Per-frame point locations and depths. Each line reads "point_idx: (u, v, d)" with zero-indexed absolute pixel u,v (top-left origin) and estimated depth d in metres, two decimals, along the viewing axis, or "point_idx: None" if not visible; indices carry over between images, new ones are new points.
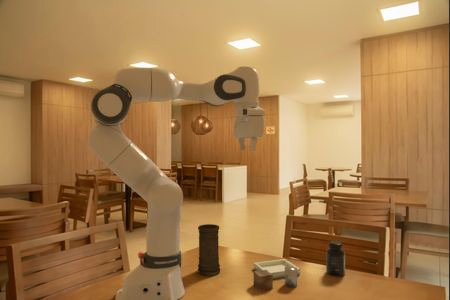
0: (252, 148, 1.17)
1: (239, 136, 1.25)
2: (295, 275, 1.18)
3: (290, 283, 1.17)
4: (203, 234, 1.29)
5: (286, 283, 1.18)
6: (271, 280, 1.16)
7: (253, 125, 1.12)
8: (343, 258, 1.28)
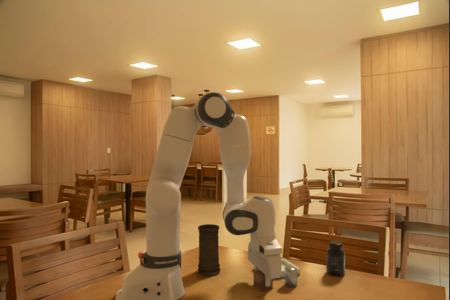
0: (267, 284, 1.14)
1: (254, 264, 1.21)
2: (295, 275, 1.18)
3: (290, 283, 1.17)
4: (203, 234, 1.29)
5: (286, 283, 1.18)
6: (271, 280, 1.16)
7: (270, 267, 1.08)
8: (343, 258, 1.28)
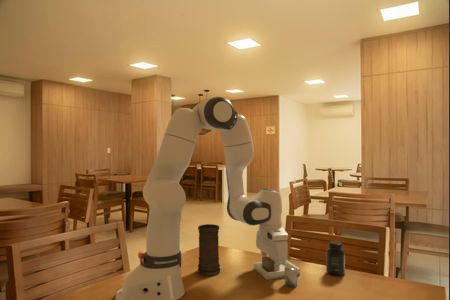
0: (276, 268, 1.25)
1: (262, 250, 1.33)
2: (295, 275, 1.18)
3: (290, 283, 1.17)
4: (203, 234, 1.29)
5: (286, 283, 1.18)
6: None
7: (278, 252, 1.20)
8: (343, 258, 1.28)
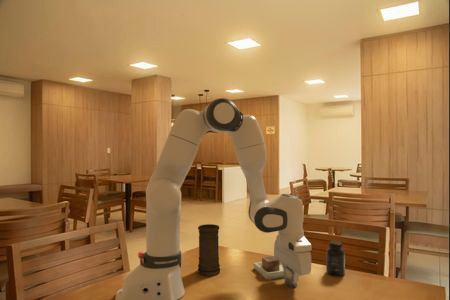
0: (295, 280, 1.16)
1: (282, 261, 1.22)
2: None
3: (290, 283, 1.17)
4: (203, 234, 1.29)
5: (286, 283, 1.18)
6: (278, 265, 1.28)
7: (301, 264, 1.10)
8: (343, 258, 1.28)
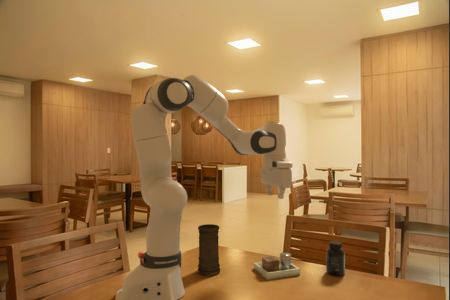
0: (280, 196, 1.30)
1: (267, 183, 1.37)
2: (289, 260, 1.30)
3: (285, 267, 1.30)
4: (203, 234, 1.29)
5: (281, 267, 1.31)
6: (278, 265, 1.28)
7: (282, 178, 1.25)
8: (343, 258, 1.28)
